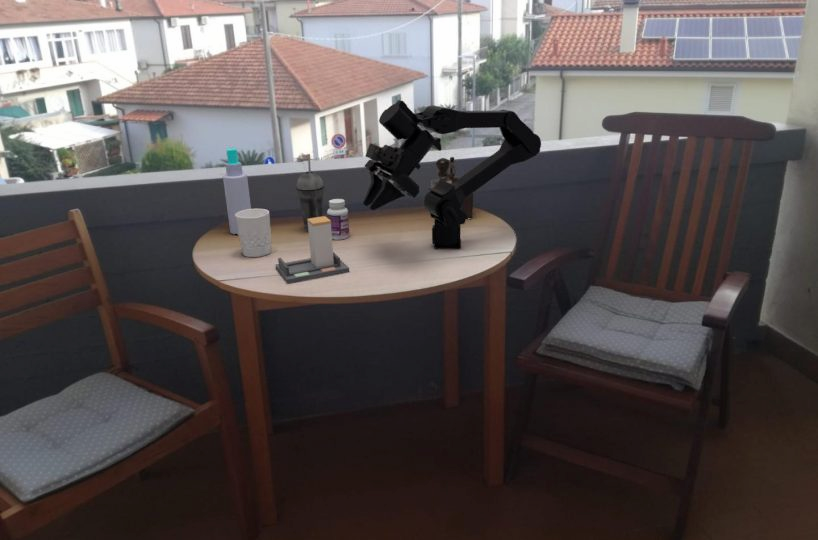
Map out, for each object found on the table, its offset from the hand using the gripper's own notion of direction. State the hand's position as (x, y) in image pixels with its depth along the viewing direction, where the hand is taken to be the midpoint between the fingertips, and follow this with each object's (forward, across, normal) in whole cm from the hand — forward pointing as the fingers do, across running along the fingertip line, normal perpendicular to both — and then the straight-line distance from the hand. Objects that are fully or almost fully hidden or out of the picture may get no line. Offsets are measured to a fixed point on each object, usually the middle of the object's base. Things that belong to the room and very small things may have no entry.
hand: (367, 207), depth 142 cm
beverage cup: (+12, -28, +6) cm, 32 cm away
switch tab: (+16, 0, 0) cm, 16 cm away
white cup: (+25, -18, -7) cm, 31 cm away
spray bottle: (+25, -36, -7) cm, 44 cm away
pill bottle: (+10, -19, +8) cm, 23 cm away
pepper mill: (-14, -20, +32) cm, 40 cm away
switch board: (+19, 0, -1) cm, 19 cm away
